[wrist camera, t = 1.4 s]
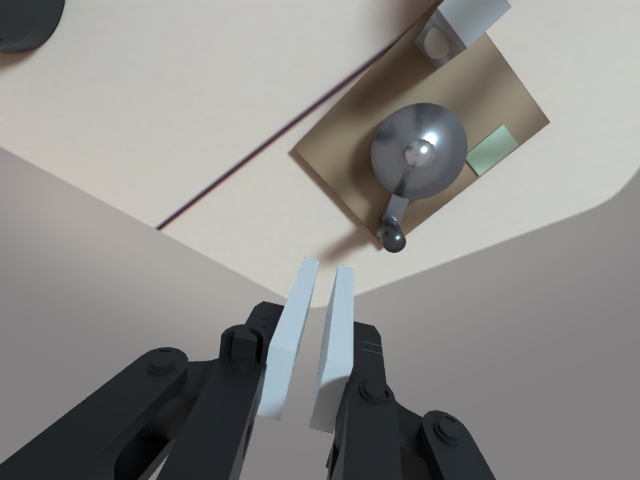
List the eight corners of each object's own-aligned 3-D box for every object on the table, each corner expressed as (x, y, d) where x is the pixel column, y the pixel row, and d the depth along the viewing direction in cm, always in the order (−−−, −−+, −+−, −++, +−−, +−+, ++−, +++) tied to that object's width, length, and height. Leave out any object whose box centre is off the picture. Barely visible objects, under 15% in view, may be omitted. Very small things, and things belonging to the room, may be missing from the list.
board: (295, 146, 31) (273, 153, 23) (448, -10, 26) (494, -77, 17) (386, 246, 34) (397, 285, 25) (543, 122, 28) (624, 119, 20)
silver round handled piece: (388, 93, 28) (397, 83, 22) (474, 120, 28) (507, 117, 22) (345, 219, 32) (343, 240, 26) (420, 243, 32) (435, 270, 26)
